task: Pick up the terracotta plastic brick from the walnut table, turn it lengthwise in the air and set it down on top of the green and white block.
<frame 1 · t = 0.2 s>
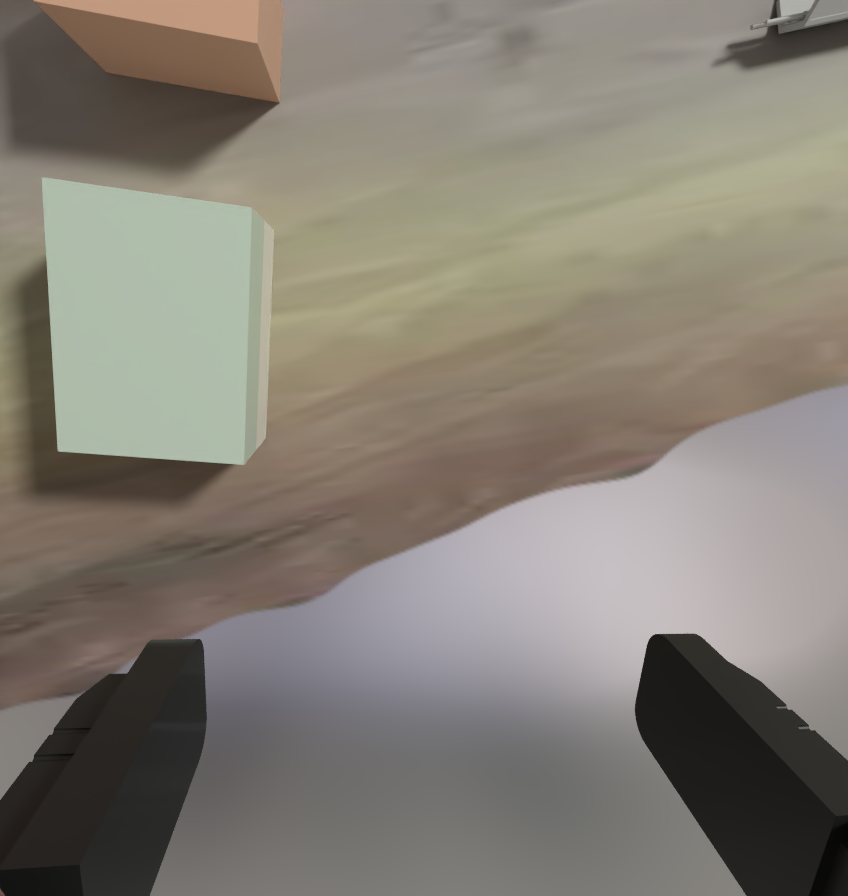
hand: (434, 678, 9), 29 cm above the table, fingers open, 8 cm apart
green and white block: (193, 331, 34), on the table
terracotta brick: (195, 41, 30), on the table
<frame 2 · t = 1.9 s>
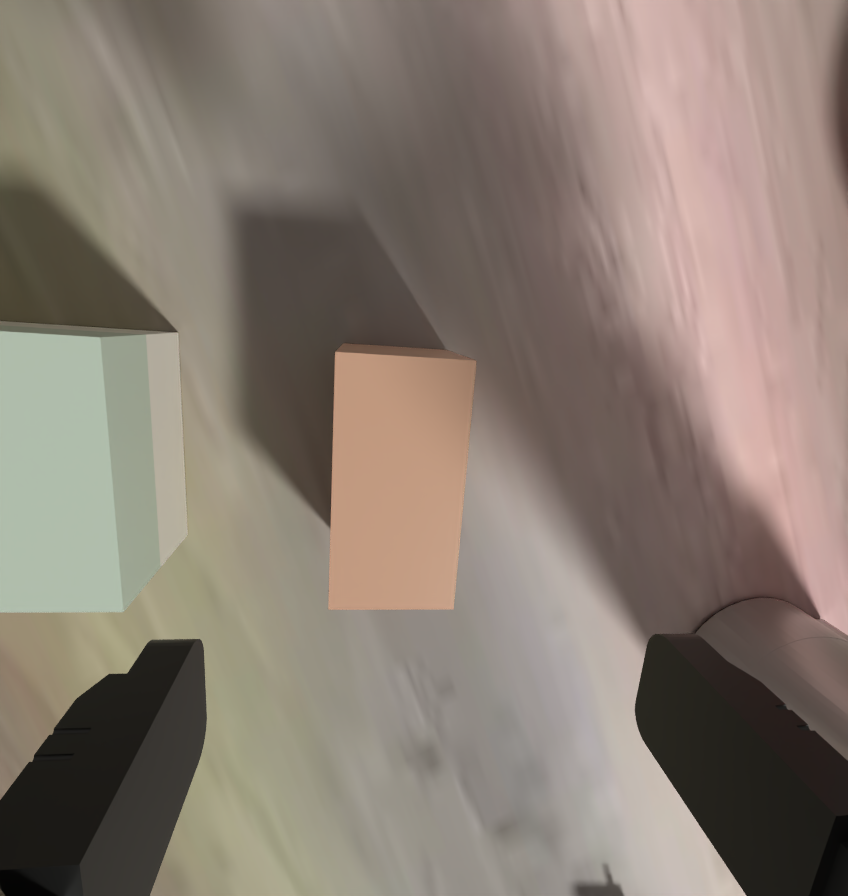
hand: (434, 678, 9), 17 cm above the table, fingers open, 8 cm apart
green and white block: (24, 432, 23), on the table
terracotta brick: (390, 445, 26), on the table
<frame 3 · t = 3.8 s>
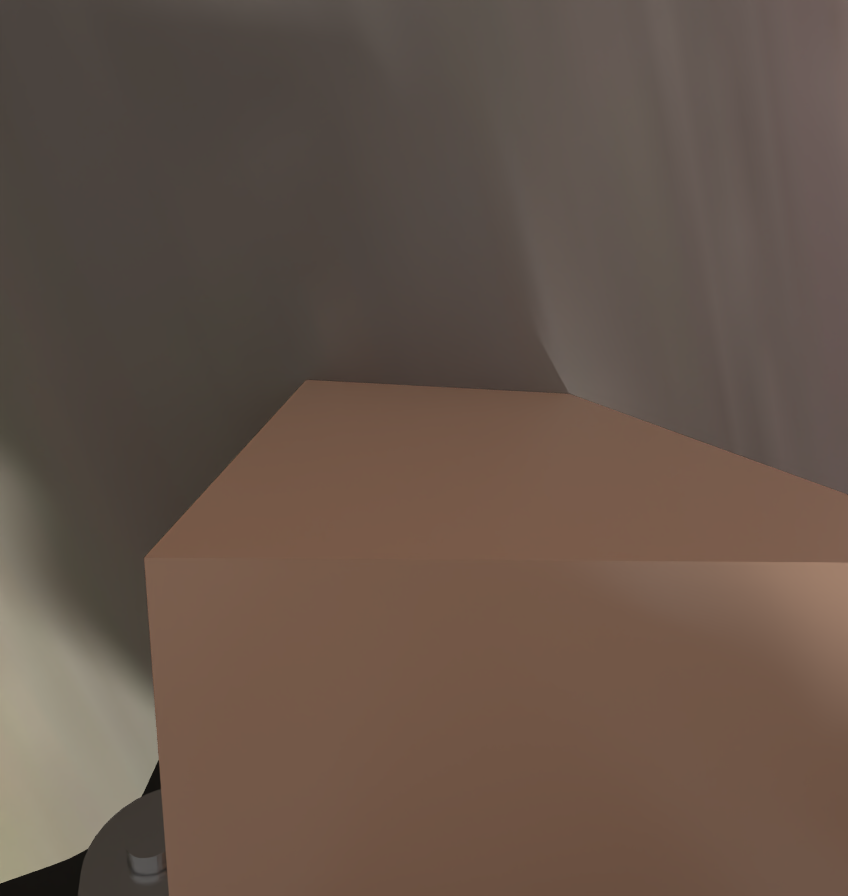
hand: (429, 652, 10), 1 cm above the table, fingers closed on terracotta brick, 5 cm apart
terracotta brick: (424, 622, 11), on the table, touching gripper
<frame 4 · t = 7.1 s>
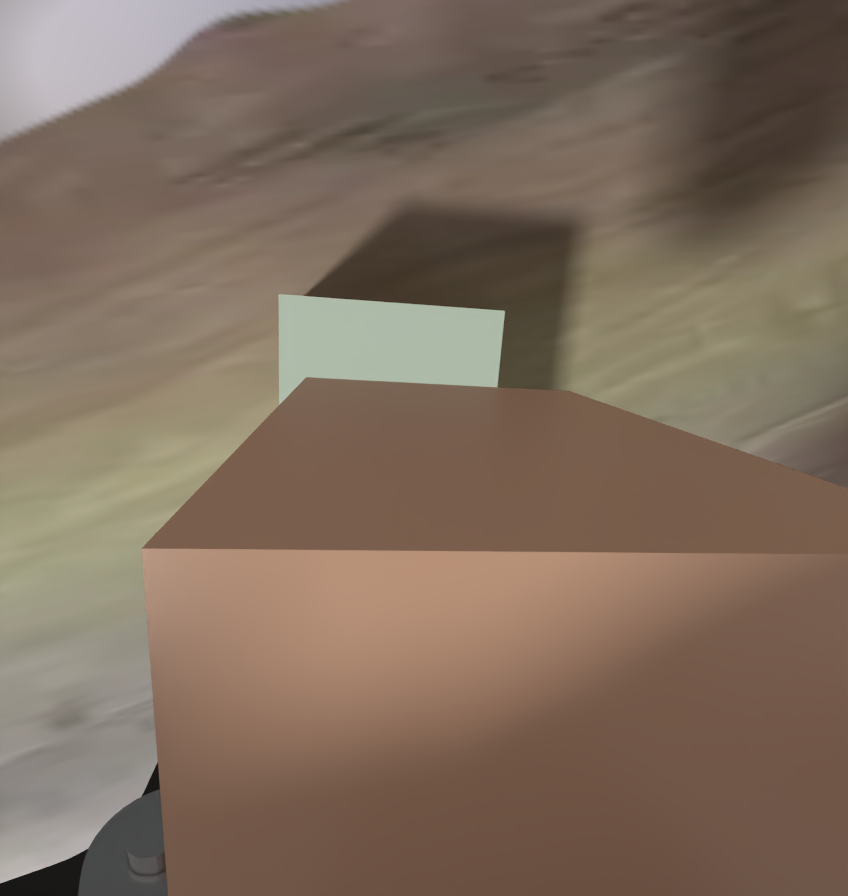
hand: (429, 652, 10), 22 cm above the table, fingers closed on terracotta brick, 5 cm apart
green and white block: (381, 426, 30), on the table
terracotta brick: (424, 620, 11), point 21 cm above the table, touching gripper
when the fingers open (9 cm above the table, at t = 10.2 s): terracotta brick drops 1 cm, resting on green and white block.
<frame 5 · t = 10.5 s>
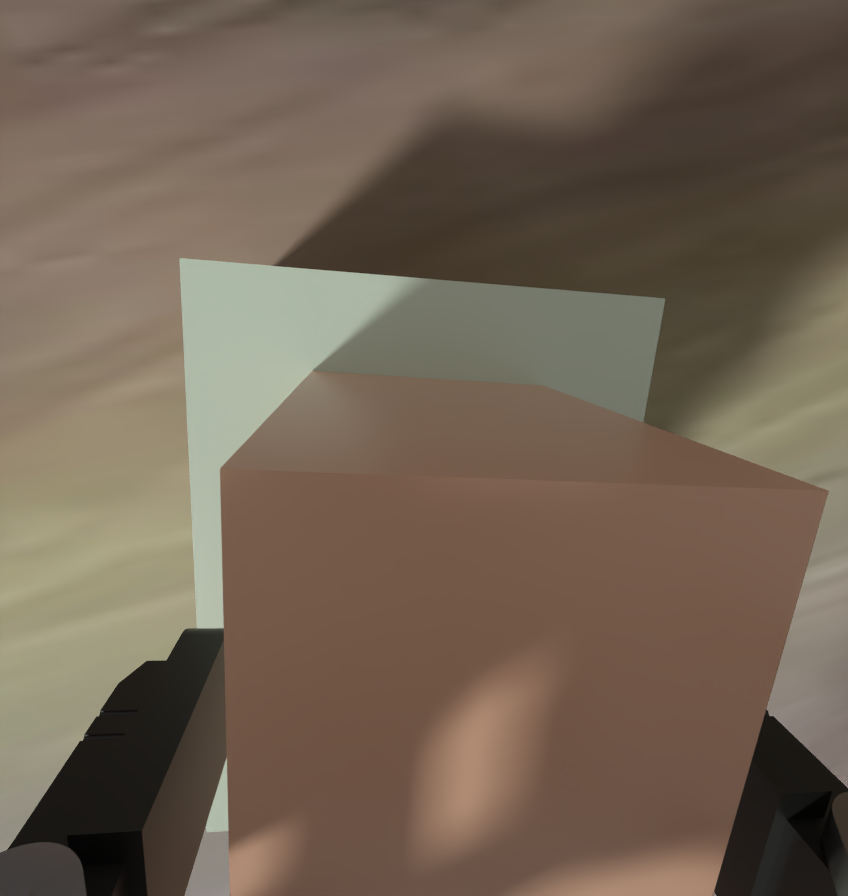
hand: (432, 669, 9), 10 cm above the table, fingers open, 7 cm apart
green and white block: (396, 490, 19), on the table
terracotta brick: (414, 588, 12), point 7 cm above the table, touching green and white block
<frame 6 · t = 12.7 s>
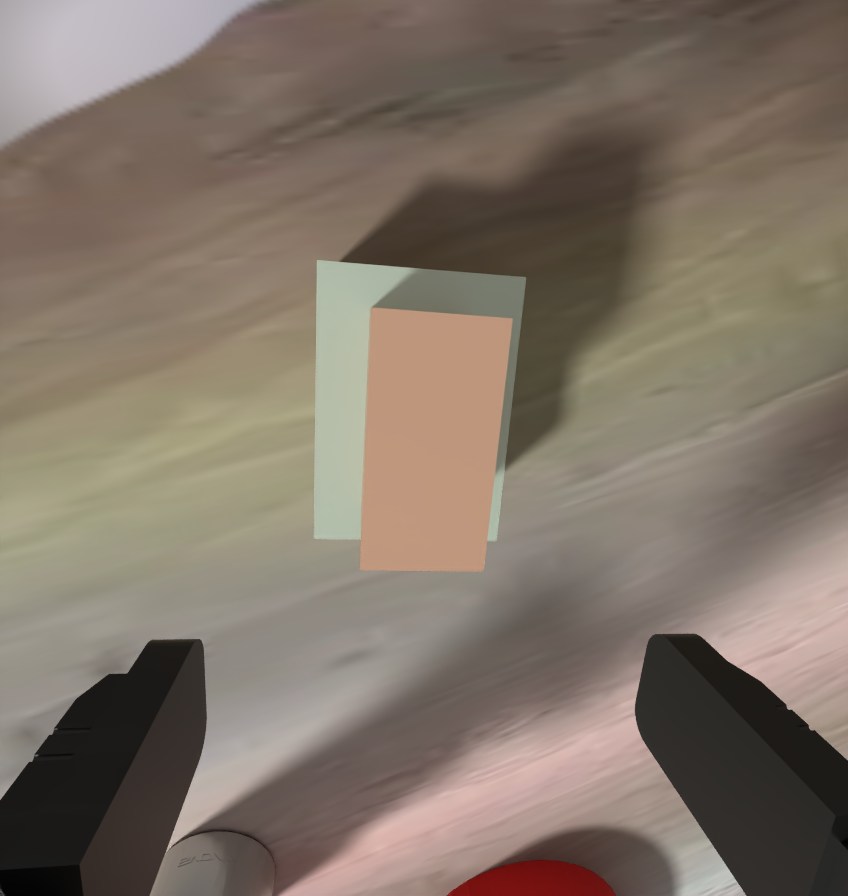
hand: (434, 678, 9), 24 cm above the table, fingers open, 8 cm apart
green and white block: (404, 392, 32), on the table
terracotta brick: (414, 414, 25), point 7 cm above the table, touching green and white block
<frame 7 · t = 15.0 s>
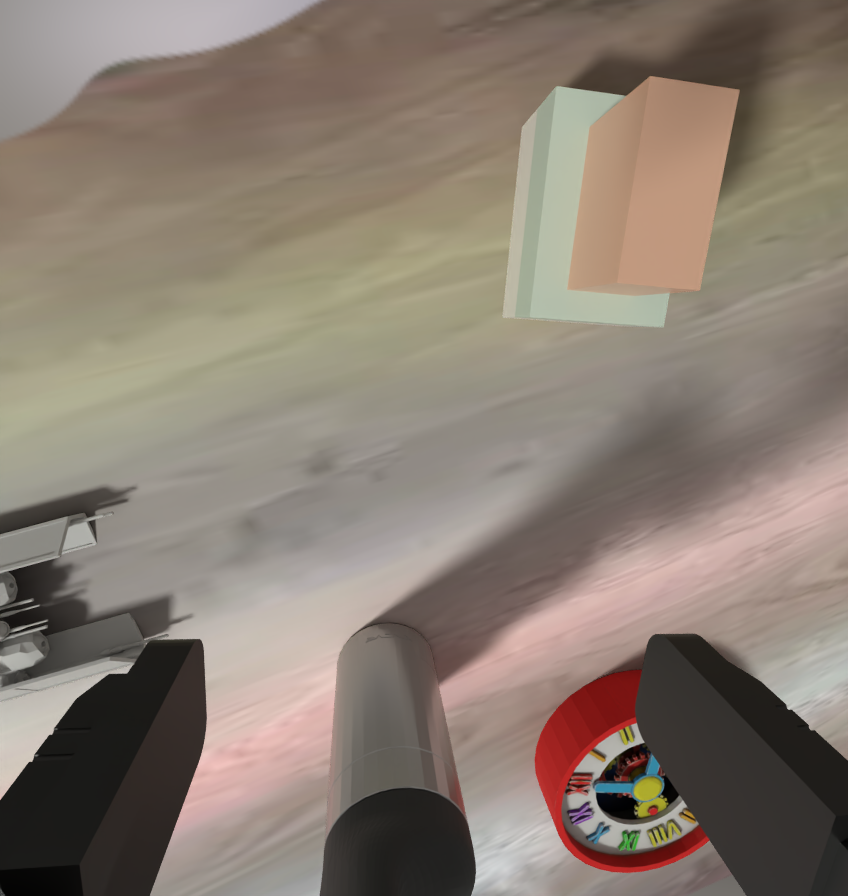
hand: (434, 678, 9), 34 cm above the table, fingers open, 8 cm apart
green and white block: (571, 232, 40), on the table
toy clock: (621, 744, 55), on the table
spaceship toy: (33, 599, 43), on the table
terracotta brick: (613, 215, 34), point 7 cm above the table, touching green and white block
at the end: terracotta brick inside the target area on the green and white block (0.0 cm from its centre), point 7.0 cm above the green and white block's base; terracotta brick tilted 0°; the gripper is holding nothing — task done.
